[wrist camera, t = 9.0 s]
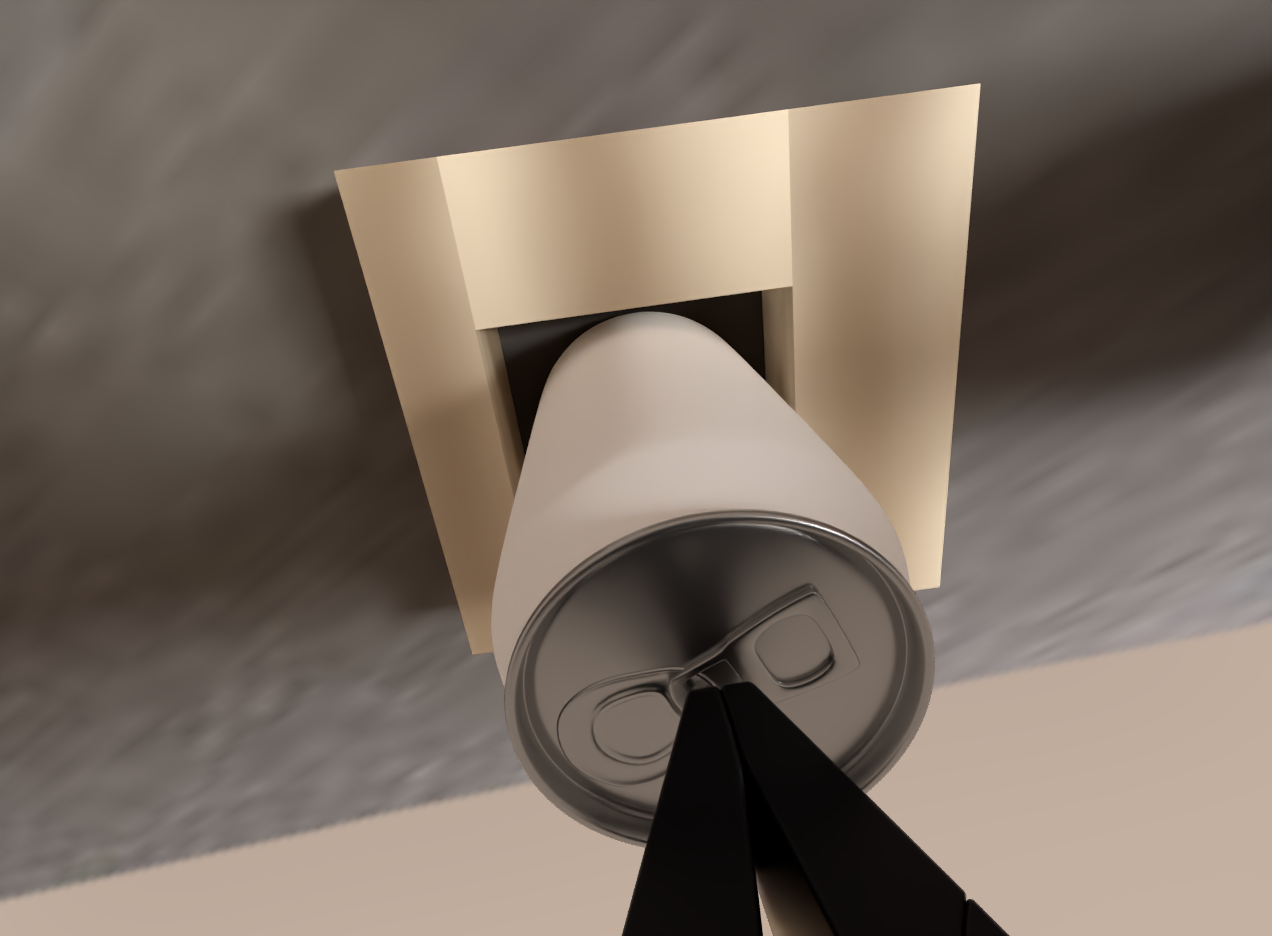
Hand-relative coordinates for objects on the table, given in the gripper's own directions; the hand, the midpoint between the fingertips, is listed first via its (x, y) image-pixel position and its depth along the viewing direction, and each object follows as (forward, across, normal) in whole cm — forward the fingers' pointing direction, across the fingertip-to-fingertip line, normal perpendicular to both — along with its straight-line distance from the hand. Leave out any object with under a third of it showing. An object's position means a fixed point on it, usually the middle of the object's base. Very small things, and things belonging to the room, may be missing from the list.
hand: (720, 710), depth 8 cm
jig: (+12, -1, -1) cm, 12 cm away
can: (+12, 0, 0) cm, 12 cm away
